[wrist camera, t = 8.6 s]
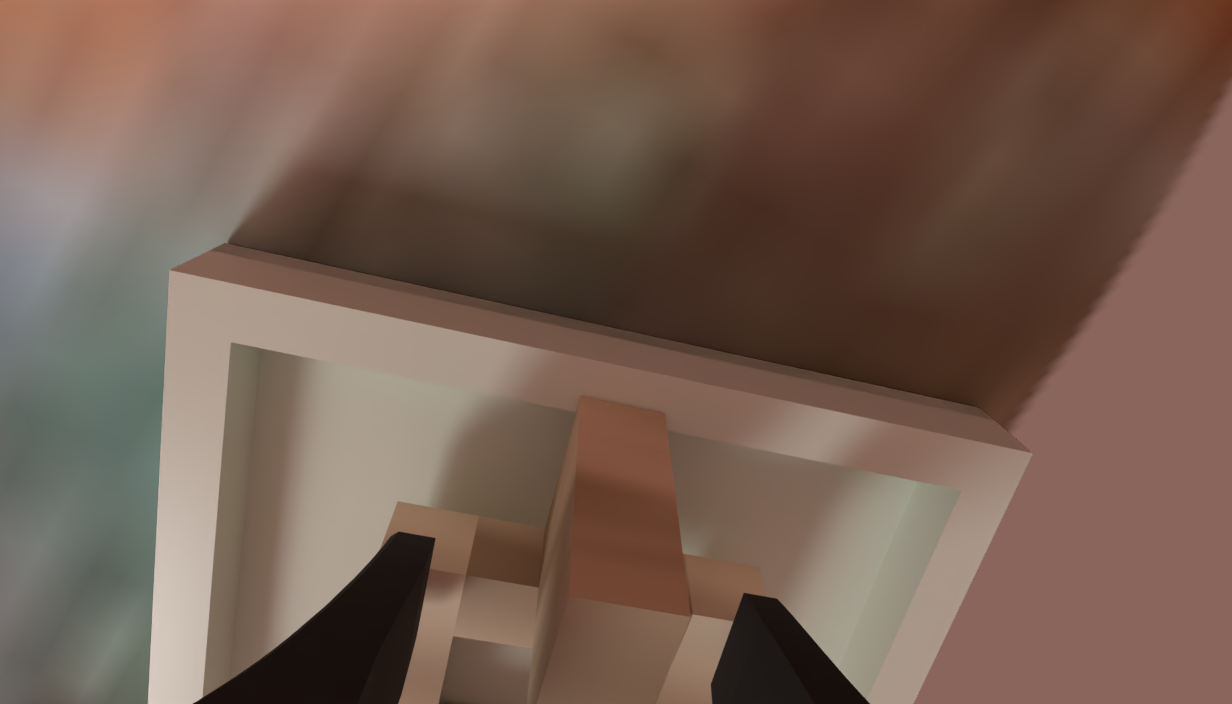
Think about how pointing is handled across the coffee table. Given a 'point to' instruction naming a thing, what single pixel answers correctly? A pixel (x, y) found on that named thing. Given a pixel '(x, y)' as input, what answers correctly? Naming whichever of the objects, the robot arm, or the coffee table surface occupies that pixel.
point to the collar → (583, 578)
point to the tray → (531, 467)
